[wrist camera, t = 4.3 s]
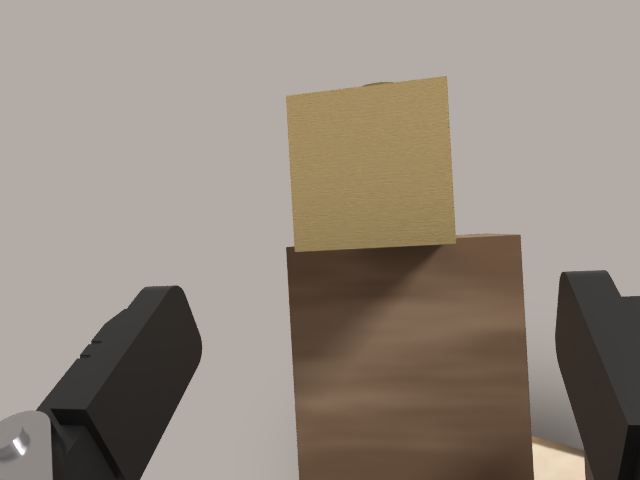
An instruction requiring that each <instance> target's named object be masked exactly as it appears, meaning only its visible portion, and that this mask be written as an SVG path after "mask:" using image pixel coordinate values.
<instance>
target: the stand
mask: <svg viewBox="0 0 640 480" xmlns="http://www.w3.org/2000/svg"><path fill="white" fill-rule="evenodd" d="M286 252H287V269H288V285H289V286H288V287H289V305H290V323H291V340H292V356H293V358H292V359H293V376H294V393H295V412H296V429H297V447H298V465H299V480H534V472H533V454H532V436H531V418H530V400H529V381H528V366H527V365H528V364H527V345H526V328H525V311H524V291H523V273H522V255H521V236H520V235H509V234H473V235H472V234H471V235H456V244H441V245H421V246H402V247H382V248H362V249H342V250H323V251H303V252H295V246H294V247H287V248H286Z"/></svg>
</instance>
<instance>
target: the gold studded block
mask: <svg viewBox="0 0 640 480" xmlns="http://www.w3.org/2000/svg"><path fill="white" fill-rule="evenodd" d="M286 104H287V121H288V140H289V157H290V175H291V191H292V211H293V228H294V246H295V252H303V251H323V250H342V249H362V248H382V247H402V246H421V245H441V244H456V234H455V216H454V199H453V181H452V162H451V144H450V127H449V109H448V91H447V77H446V76H444V77H435V78H427V79H420V80H411V81H403V82H396V83H394V82H380V83H373V84H368V85H364V86H362V87H355V88H347V89H339V90H330V91H322V92H314V93H306V94H298V95H290V96H286Z"/></svg>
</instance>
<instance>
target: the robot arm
mask: <svg viewBox="0 0 640 480" xmlns="http://www.w3.org/2000/svg"><path fill="white" fill-rule="evenodd" d="M555 341H556V353H557V359H558V363H559V368H560V371H561V374H562V377H563V380H564V384H565V387H566V390H567V393H568V397H569V400H570V403H571V407H572V410H573V413H574V416H575V419H576V423H577V426H578V429H579V433H580V436H581V439H582V442H583V446H584V449H585V452H586V455H587V459H588V462H589V465H590V468H591V472H592V475H593V478H594V480H640V296H630V297H621V295H620V293H619V292H618V290H617V288H616V286H615V284H614V282H613V280H612V278H611V277H610V275H609V273H608V272H607V271H606V270H601V271H572V272H562V273H561V277H560V282H559V294H558V307H557V319H556V332H555ZM91 342H92V343H91V344H89V345H88V346H87V347H86V348H85V350H84V351H83V352H82V353H81V355H80V359H77V360H76V361H75V362H74V363H73V365H72V366H71V367H70V368H69V370H68V371H67V372H66V373H65V375H64V376H63V377H62V378H61V380H60V381H59V382H58V383H57V385H56V386H55V387H54V389H53V390H52V391H51V392H50V393H49V395H48V396H47V397H46V398H45V400H44V401H43V402H42V403H41V405H40V406H39V407H38V408H37V410H36V411H25V412H21V413H18V414H15V415H12V416H10V417H8V418H6V419H4V420H2V421H0V480H140V478H141V476H142V474H143V472H144V470H145V469H146V467H147V465H148V463H149V461H150V459H151V457H152V455H153V453H154V451H155V449H156V447H157V445H158V443H159V441H160V439H161V437H162V435H163V433H164V431H165V429H166V427H167V426H168V424H169V421H170V420H171V418H172V416H173V414H174V412H175V410H176V408H177V406H178V404H179V402H180V400H181V398H182V396H183V394H184V392H185V390H186V388H187V386H188V385H189V382H190V381H191V379H192V377H193V375H194V373H195V371H196V369H197V367H198V365H199V362H200V359H201V354H202V341H201V337H200V334H199V331H198V328H197V325H196V323H195V320H194V317H193V315H192V312H191V309H190V307H189V304H188V301H187V299H186V296H185V293H184V291H183V290H182V288H180V287H179V286H156V287H155V286H153V287H145V288H144V289H142V290H141V291H140V293H139V294H138V295H137V297H136V298H135V299H134V300H133V302H132V303H131V304H130V305H129V307H128V308H127V309H124V310H123V311H121V312H120V313H119V314H118V315H116V316H115V317H113V318H112V319H111V320H110V321H108V322H107V323H106V324H105V325H104V326H103V327H102V328H101V329H100V331H99V332H98V333H97V334H96V336H95V337H94V339H92V341H91Z"/></svg>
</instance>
